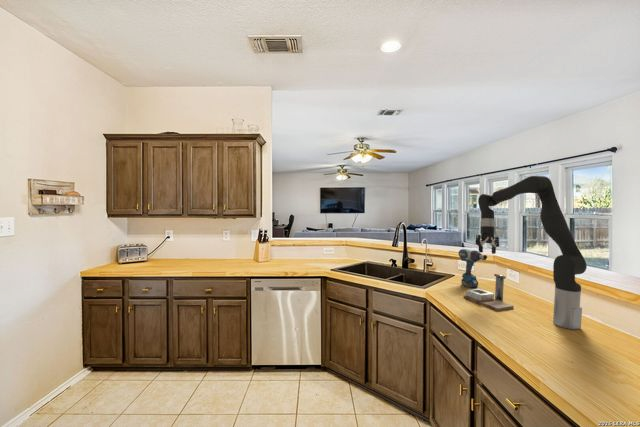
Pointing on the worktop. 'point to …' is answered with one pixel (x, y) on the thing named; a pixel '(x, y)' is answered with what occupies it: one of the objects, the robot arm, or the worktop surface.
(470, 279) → the impact wrench
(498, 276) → the chuck key
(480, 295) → the stand
